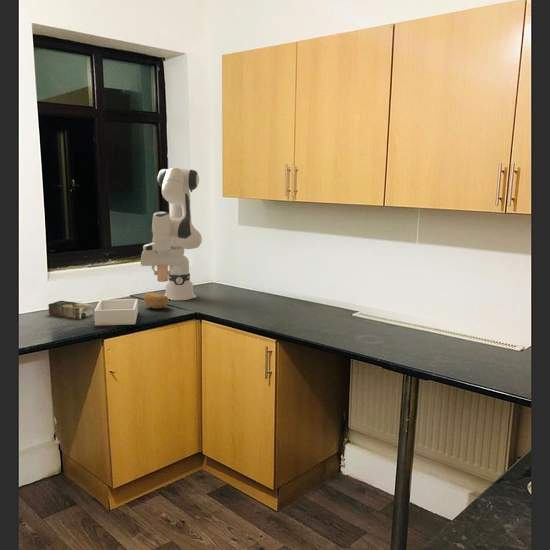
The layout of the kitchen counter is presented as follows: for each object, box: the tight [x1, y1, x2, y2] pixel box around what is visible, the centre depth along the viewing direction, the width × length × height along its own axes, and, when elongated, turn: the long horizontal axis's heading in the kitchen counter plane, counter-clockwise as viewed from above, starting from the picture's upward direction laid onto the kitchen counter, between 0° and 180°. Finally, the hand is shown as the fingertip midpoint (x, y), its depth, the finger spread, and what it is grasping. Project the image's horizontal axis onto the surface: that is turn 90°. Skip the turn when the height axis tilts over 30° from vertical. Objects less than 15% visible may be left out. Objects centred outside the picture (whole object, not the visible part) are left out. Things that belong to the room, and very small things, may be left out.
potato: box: [143, 292, 169, 310], centre depth 287 cm, size 10×14×8 cm
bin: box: [94, 298, 139, 326], centre depth 265 cm, size 22×18×7 cm
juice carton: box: [47, 300, 93, 320], centre depth 271 cm, size 20×10×6 cm, turn 70°
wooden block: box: [156, 265, 169, 283], centre depth 266 cm, size 5×5×8 cm
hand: (162, 274), depth 266 cm, fingers closed on wooden block, 5 cm apart
